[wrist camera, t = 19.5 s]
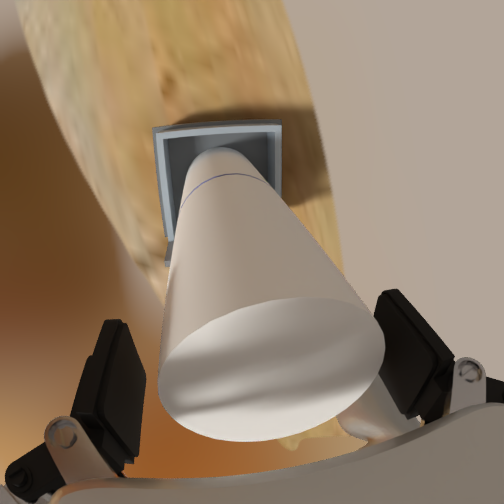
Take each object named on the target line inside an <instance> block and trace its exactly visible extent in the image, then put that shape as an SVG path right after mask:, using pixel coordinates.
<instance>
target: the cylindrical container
mask: <svg viewBox="0 0 504 504" xmlns="http://www.w3.org/2000/svg"><path fill="white" fill-rule="evenodd" d="M384 353H385V341H384V334H383V332H382V330H381V328H380V326H379V324H378V322H377V321H376V319H375V318H374V316H373V315H372V314H371V312H370V311H369V309H368V308H367V307H366V306H365V304H364V303H363V301H362V300H361V299H360V297H359V296H358V295H357V294H356V292H355V291H354V289H353V288H352V287H351V285H350V284H349V283H348V282H347V280H346V279H345V277H344V276H343V275H342V273H341V272H340V271H339V269H338V268H337V267H336V266H335V264H334V263H333V262H332V260H331V259H330V258H329V257H328V255H327V254H326V253H325V251H324V250H323V249H322V248H321V246H320V245H319V244H318V243H317V241H316V240H315V239H314V238H313V236H312V235H311V234H310V233H309V231H308V230H307V229H306V228H305V226H304V225H303V224H302V223H301V222H300V220H299V219H298V218H297V217H296V215H295V214H294V213H293V212H292V211H291V209H290V208H289V207H288V206H287V205H286V203H285V202H284V201H283V200H282V199H281V197H280V196H279V195H278V194H277V193H276V191H275V190H274V189H273V188H272V187H271V186H270V185H269V183H268V182H267V181H266V180H265V179H264V178H263V176H262V175H261V174H260V173H259V172H258V171H257V169H256V168H255V167H254V166H253V165H252V164H251V162H250V161H249V160H248V159H247V158H246V157H245V156H244V155H243V154H242V153H240V152H238V151H237V150H234V149H231V148H226V147H215V148H211V149H208V150H206V151H204V152H202V153H201V154H199V155H198V156H197V157H196V158H195V159H194V160H193V161H192V163H191V165H190V166H189V169H188V171H187V175H186V180H185V184H184V189H183V194H182V200H181V205H180V210H179V216H178V221H177V227H176V233H175V238H174V244H173V251H172V257H171V264H170V270H169V277H168V284H167V292H166V300H165V308H164V317H163V326H162V336H161V345H160V357H159V369H158V395H159V398H160V400H161V403H162V405H163V407H164V409H165V410H166V411H167V412H168V413H169V415H170V416H171V417H172V418H173V419H174V420H176V421H177V422H178V423H180V424H181V425H182V426H184V427H185V428H187V429H189V430H192V431H194V432H196V433H198V434H201V435H204V436H207V437H211V438H214V439H220V440H227V441H243V442H249V441H265V440H271V439H277V438H282V437H286V436H290V435H293V434H297V433H300V432H303V431H305V430H308V429H311V428H313V427H316V426H318V425H320V424H322V423H324V422H326V421H327V420H329V419H331V418H333V417H335V416H336V415H338V414H339V413H341V412H342V411H344V410H345V409H346V408H348V407H349V406H350V405H351V404H352V403H354V402H355V401H356V400H357V399H358V398H359V397H360V396H361V395H362V394H363V393H364V392H365V391H366V390H367V389H368V387H369V386H370V385H371V383H372V382H373V380H374V379H375V377H376V376H377V374H378V372H379V369H380V367H381V365H382V363H383V358H384Z"/></svg>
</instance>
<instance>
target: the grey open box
mask: <svg viewBox="0 0 504 504" xmlns="http://www.w3.org/2000/svg"><path fill="white" fill-rule="evenodd" d="M152 130H153V142H154V153H155V163H156V173H157V181H158V190H159V198H160V205H161V213H162V220H163V226H164V233H165V237H168V241H169V242H168V247H167V251H166V256H165V261H164V262H165V267H170V264H171V257H172V251H173V244H174V238H175V233H176V227H177V221H178V216H179V210H180V205H181V200H182V194H183V189H184V184H185V180H186V175H187V171H188V169H189V166H190V165H191V163H192V161H193V160H194V159H195V158H196V157H197V156H198V155H199V154H201V153H202V152H204V151H206V150H208V149H211V148H215V147H226V148H231V149H234V150H237V151H238V152H240V153H242V154H243V155H244V156H245V157H246V158H247V159H248V160H249V161H250V162H251V164H252V165H253V166H254V167H255V168H256V169H257V171H258V172H259V173H260V174H261V175H262V176H263V178H264V179H265V180H266V181H267V182H268V183H269V185H270V186H271V187H272V188H273V189H274V190H275V191H276V193H277V194H278V195H279V196H280V197H281V196H282V120H281V119H248V120H225V121H210V122H197V123H186V124H176V125H168V126H159V127H153V128H152Z"/></svg>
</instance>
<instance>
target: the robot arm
mask: <svg viewBox="0 0 504 504" xmlns="http://www.w3.org/2000/svg"><path fill="white" fill-rule="evenodd" d="M374 318H375V319H376V321H377V322H378V324H379V326H380V328H381V330H382V332H383V334H384V341H385V353H384V358H383V363H382V365H381V367H380V369H379V372H378V374H377V376H376V377H375V379H374V380H373V382H372V383H371V385H370V386H369V387H368V389H367V390H366V391H365V392H364V393H363V394H362V395H361V396H360V397H359V398H358V399H357V400H356V401H355V402H354V403H352V404H351V405H350V406H349V407H348V408H346V409H345V410H344V411H342V412H341V413H339V414H338V415H336V418H337V420H338V422H339V424H340V426H341V427H342V429H343V430H344V431H345V432H346V433H348V434H350V435H351V436H354V437H356V438H359V439H362V440H365V441H368V443H367V444H366V445H365V446H363V447H362V448H360V449H358V450H356V451H354V452H351V453H348V454H344V455H341V456H337V457H333V458H330V459H326V460H322V461H318V462H313V463H310V464H304V465H300V466H295V467H290V468H284V469H279V470H273V471H267V472H260V473H252V474H244V475H236V476H224V477H209V478H181V479H156V478H128V477H127V476H126V475H125V474H124V472H123V470H124V463H127V464H134V457H138V455H139V447H140V434H141V423H142V413H143V404H144V395H145V387H146V373H145V370H144V368H143V365H142V363H141V360H140V358H139V355H138V353H137V350H136V347H135V345H134V342H133V339H132V336H131V334H130V331H129V328H128V325H127V324H126V323H123V322H122V321H121V320H120V319H112V320H105V321H104V324H103V326H102V329H101V332H100V334H99V337H98V340H97V343H96V346H95V349H94V352H93V355H91V356H89V357H88V358H87V361H86V363H85V367H84V370H83V373H82V376H81V379H80V382H79V386H78V389H77V392H76V396H75V399H74V403H73V407H72V410H71V414H70V416H59V417H57V418H55V419H53V420H52V421H50V422H49V424H48V425H47V427H46V429H45V432H44V439H45V442H44V443H42V444H41V445H39V446H37V447H36V448H34V449H33V450H31V451H30V452H28V453H27V454H25V455H24V456H22V457H20V458H19V459H17V460H16V461H14V462H12V463H11V464H10V465H9V466H8V468H7V470H6V473H5V482H6V484H5V485H4V486H3V485H0V504H504V382H503V381H499V380H496V379H492V378H489V377H486V373H485V370H484V368H483V366H482V365H481V364H480V363H479V362H478V361H476V360H475V359H472V358H468V357H464V358H460V359H459V360H457V361H456V362H455V361H454V360H453V359H454V357H455V356H454V354H452V352H451V351H450V349H449V348H448V347H447V346H446V345H445V343H444V342H443V341H442V340H441V338H440V337H439V336H438V335H437V333H436V332H435V331H434V330H433V329H432V328H431V326H430V325H429V324H428V323H427V322H426V320H425V319H424V318H423V317H422V316H421V315H420V313H419V312H418V311H417V310H416V309H415V308H414V307H413V305H412V304H411V303H410V302H409V301H408V300H407V299H406V298H405V297H404V295H403V294H402V293H401V292H400V291H399V290H398V289H391V290H385V291H383V292H382V294H381V295H380V296H379V297H378V300H377V304H376V308H375V312H374ZM418 415H420V417H421V423H420V422H419V421H418V420H417V418H416V416H418Z"/></svg>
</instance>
